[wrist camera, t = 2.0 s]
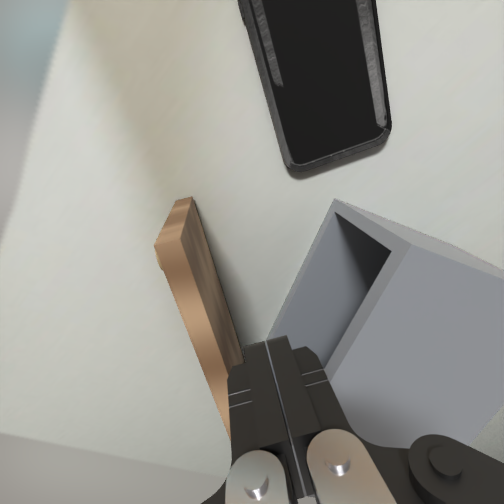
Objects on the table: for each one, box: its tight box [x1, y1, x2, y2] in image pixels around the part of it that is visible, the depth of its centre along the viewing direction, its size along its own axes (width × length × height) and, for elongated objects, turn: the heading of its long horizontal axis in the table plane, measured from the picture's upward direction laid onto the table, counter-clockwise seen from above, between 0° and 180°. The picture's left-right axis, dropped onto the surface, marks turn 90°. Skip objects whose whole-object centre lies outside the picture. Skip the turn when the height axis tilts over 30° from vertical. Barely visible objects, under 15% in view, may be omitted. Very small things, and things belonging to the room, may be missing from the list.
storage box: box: [265, 198, 504, 497], centre depth 23 cm, size 12×18×10 cm, turn 158°
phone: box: [238, 0, 392, 172], centre depth 19 cm, size 8×1×15 cm
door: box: [154, 197, 245, 441], centre depth 21 cm, size 16×2×9 cm, turn 13°
